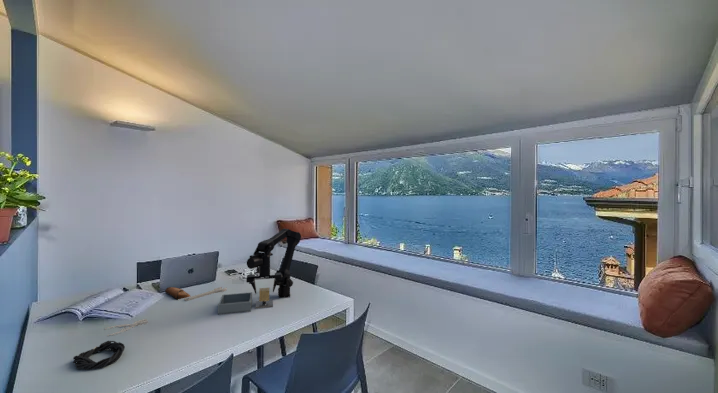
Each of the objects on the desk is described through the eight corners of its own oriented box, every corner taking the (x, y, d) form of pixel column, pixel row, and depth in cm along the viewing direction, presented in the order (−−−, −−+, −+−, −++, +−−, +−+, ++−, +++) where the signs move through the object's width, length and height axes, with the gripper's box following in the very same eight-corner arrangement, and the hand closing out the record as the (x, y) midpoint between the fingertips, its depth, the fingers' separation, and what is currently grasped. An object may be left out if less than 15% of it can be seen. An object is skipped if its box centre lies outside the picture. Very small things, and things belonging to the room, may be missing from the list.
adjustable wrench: (186, 302, 169) (185, 299, 169) (180, 299, 173) (180, 296, 173) (228, 290, 189) (228, 288, 189) (222, 288, 193) (222, 286, 193)
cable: (128, 362, 109) (128, 350, 109) (75, 379, 99) (75, 366, 99) (119, 345, 121) (119, 334, 121) (71, 359, 111) (71, 347, 111)
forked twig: (104, 326, 134) (145, 316, 145) (104, 329, 134) (145, 319, 145) (107, 333, 127) (149, 323, 138) (107, 337, 127) (149, 326, 138)
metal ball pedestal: (272, 301, 171) (272, 287, 171) (272, 307, 162) (273, 292, 162) (256, 302, 168) (256, 288, 168) (255, 308, 160) (255, 293, 159)
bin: (252, 301, 171) (252, 292, 171) (250, 311, 156) (250, 301, 156) (222, 303, 166) (222, 294, 166) (218, 314, 151) (218, 304, 151)
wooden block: (269, 297, 168) (269, 287, 168) (269, 300, 163) (269, 290, 163) (259, 298, 167) (259, 288, 167) (259, 301, 162) (259, 291, 162)
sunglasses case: (192, 295, 177) (186, 287, 175) (181, 304, 173) (174, 296, 170) (179, 289, 189) (173, 281, 186) (169, 297, 184) (162, 290, 181)
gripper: (281, 260, 175) (281, 286, 176) (247, 262, 170) (247, 289, 170) (282, 265, 165) (282, 293, 165) (246, 267, 159) (246, 296, 159)
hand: (264, 292), depth 165 cm, fingers open, 9 cm apart
